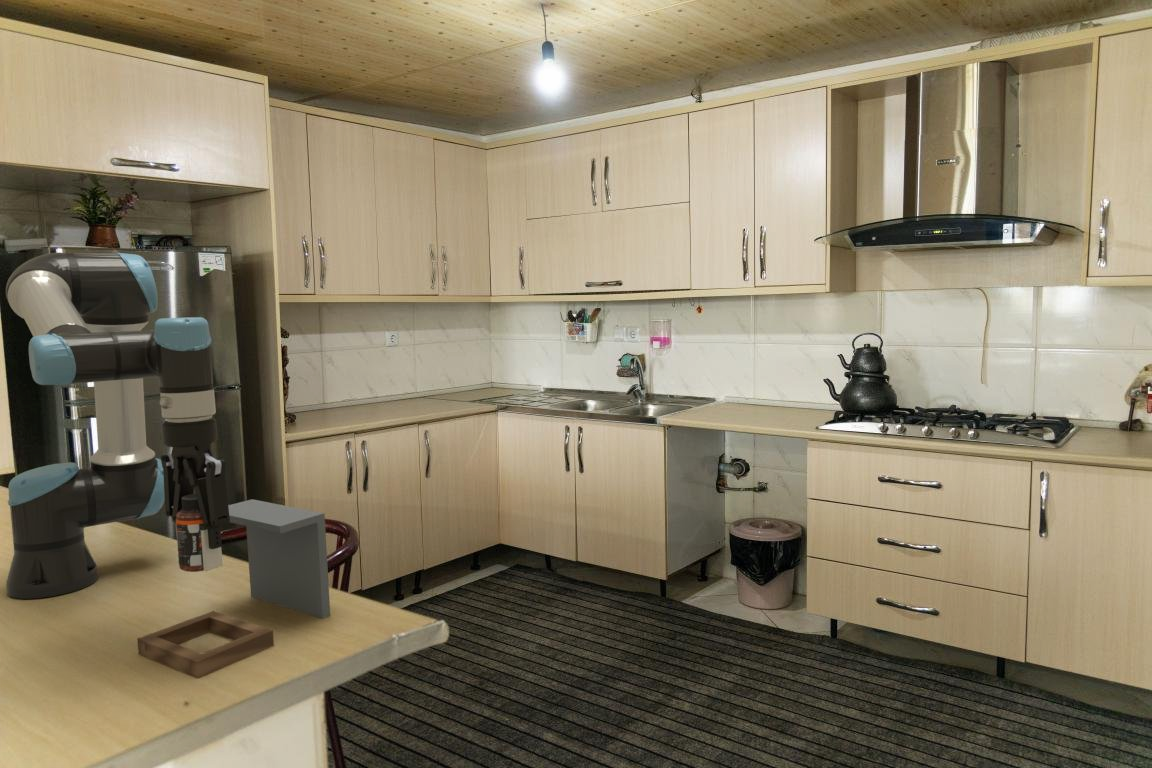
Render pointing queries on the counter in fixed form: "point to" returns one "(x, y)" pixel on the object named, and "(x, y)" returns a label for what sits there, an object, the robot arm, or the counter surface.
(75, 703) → the counter surface
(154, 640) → the wooden frame
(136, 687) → the counter surface
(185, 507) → the supplement bottle
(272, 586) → the grey l-shaped bracket
